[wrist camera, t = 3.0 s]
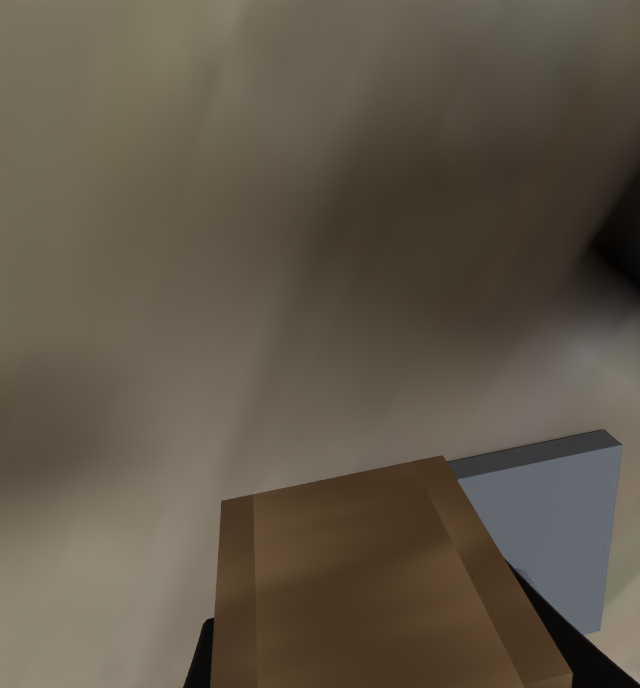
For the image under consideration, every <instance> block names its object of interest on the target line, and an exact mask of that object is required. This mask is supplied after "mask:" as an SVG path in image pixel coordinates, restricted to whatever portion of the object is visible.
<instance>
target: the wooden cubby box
mask: <svg viewBox="0 0 640 688" xmlns="http://www.w3.org/2000/svg"><path fill="white" fill-rule="evenodd" d="M572 676H573V673H572V671H571V669H570V668H569V666H568V664H567V663H566V661H565V659H564V658H563V656H562V654H561V653H560V651H559V649H558V648H557V646H556V644H555V643H554V641H553V639H552V637H551V636H550V634H549V632H548V631H547V629H546V627H545V626H544V624H543V622H542V621H541V619H540V617H539V616H538V614H537V612H536V611H535V609H534V607H533V606H532V604H531V602H530V601H529V599H528V597H527V596H526V594H525V592H524V591H523V589H522V587H521V586H520V584H519V582H518V581H517V579H516V577H515V576H514V574H513V572H512V571H511V569H510V567H509V566H508V564H507V562H506V561H505V559H504V557H503V556H502V554H501V552H500V551H499V549H498V547H497V546H496V544H495V542H494V541H493V539H492V537H491V536H490V534H489V532H488V531H487V529H486V527H485V526H484V524H483V522H482V521H481V519H480V517H479V516H478V514H477V512H476V511H475V509H474V507H473V506H472V504H471V502H470V501H469V499H468V497H467V496H466V494H465V492H464V491H463V489H462V487H461V486H460V484H459V482H458V481H457V479H456V477H455V476H454V474H453V472H452V471H451V469H450V467H449V466H448V464H447V462H446V461H445V459H444V457H443V455H441V456H437V457H432V458H427V459H422V460H417V461H412V462H408V463H403V464H398V465H393V466H388V467H383V468H379V469H374V470H369V471H364V472H359V473H354V474H350V475H345V476H340V477H335V478H330V479H325V480H321V481H316V482H311V483H306V484H301V485H296V486H292V487H287V488H282V489H277V490H272V491H267V492H263V493H258V494H253V495H248V496H243V497H238V498H233V499H229V500H224V501H222V503H221V519H220V535H219V551H218V568H217V584H216V600H215V616H214V633H213V649H212V665H211V682H210V688H571V686H572Z"/></svg>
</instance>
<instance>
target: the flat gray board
mask: <svg viewBox="0 0 640 688" xmlns="http://www.w3.org/2000/svg"><path fill="white" fill-rule="evenodd" d="M621 452H622V444H621V443H620V442H619V441H617V440H616V439H615V438H614V437H613V436H611V435H610V434H609V433H608V432H607V431H606V430H600V431H596V432H591V433H586V434H581V435H576V436H572V437H567V438H562V439H557V440H552V441H548V442H543V443H538V444H533V445H528V446H524V447H519V448H514V449H509V450H504V451H500V452H495V453H490V454H485V455H480V456H476V457H471V458H466V459H461V460H456V461H452V462H447V464H448V466H449V467H450V469H451V471H452V472H453V474H454V476H455V477H456V479H457V481H458V482H459V484H460V486H461V487H462V489H463V491H464V492H465V494H466V496H467V497H468V499H469V501H470V502H471V504H472V506H473V507H474V509H475V511H476V512H477V514H478V516H479V517H480V519H481V521H482V522H483V524H484V526H485V527H486V529H487V531H488V532H489V534H490V536H491V537H492V539H493V541H494V542H495V544H496V546H497V547H498V549H499V551H500V552H501V554H502V556H503V557H504V558H505V559H506V560H507V561H508V562H509V563H510V564H511V565H512V566H513V567H514V569H522V570H525V571H526V572H527V573H528V574H529V575H530V577H531V578H532V580H533V582H534V583H535V585H536V586H537V588H538V589H539V591H540V593H541V594H542V596H543V597H544V599H545V600H546V601H547V602H548V603H549V604H550V605H551V606H552V607H553V608H554V609H555V610H556V611H558V612H559V613H560V614H561V615H562V616H563V617H564V618H565V619H566V620H567V621H568V622H569V623H570V624H571V625H572V626H574V627H575V628H576V629H577V630H578V631H579V632H580V633H581V634H582V635H584V634H588V633H593V632H597V631H600V627H601V618H602V610H603V602H604V593H605V585H606V577H607V568H608V560H609V552H610V543H611V535H612V527H613V518H614V510H615V502H616V494H617V485H618V477H619V469H620V460H621Z"/></svg>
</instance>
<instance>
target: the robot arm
mask: <svg viewBox="0 0 640 688" xmlns="http://www.w3.org/2000/svg"><path fill="white" fill-rule="evenodd" d="M504 559H505V558H504ZM505 561H506V562H507V564H508V566H509V567H510V569H511V571H512V572H513V574H514V576H515V577H516V579H517V581H518V582H519V584H520V586H521V587H522V589H523V591H524V592H525V594H526V596H527V597H528V599H529V601H530V602H531V604H532V606H533V607H534V609H535V611H536V612H537V614H538V616H539V617H540V619H541V621H542V622H543V624H544V626H545V627H546V629H547V631H548V632H549V634H550V636H551V637H552V639H553V641H554V643H555V644H556V646H557V648H558V649H559V651H560V653H561V654H562V656H563V658H564V659H565V661H566V663H567V664H568V666H569V668H570V669H571V671H572V673H573V676H572V686H571V688H640V684H639V683H638V682H636V681H635V680H634V679H633V678H632V677H630V676H629V675H628V674H627V673H626V672H624V671H623V670H622V669H621V668H620V667H618V666H617V665H616V664H615V663H614V662H613V661H611V660H610V659H609V658H608V657H607V656H606V655H605V654H603V653H602V652H601V651H600V650H599V649H598V648H597V647H596V646H594V645H593V644H592V643H591V642H590V641H589V640H588V639H587V638H586V637H585V636H583V635H582V634H581V633H580V632H579V631H578V630H577V629H576V628H575V627H574V626H572V625H571V624H570V623H569V622H568V621H567V620H566V619H565V618H564V617H563V616H562V615H561V614H560V613H559V612H558V611H556V610H555V609H554V608H553V607H552V606H551V605H550V604H549V603H548V602H547V601H546V600H545V599H544V598H543V597H542V596H541V595H540V594H539V593H538V592H537V591H536V590H535V589H534V588H533V587H532V586H531V585H530V584H529V583H528V582H527V581H526V580H525V579H524V578H523V577H522V576H521V575H520V574H519V573H518V572H517V571H516V570H515V569H514V567H513V566H512V565H511V564H510V563H509V562H508V561H507V560H506V559H505ZM213 633H214V618H211V619H207V620H206V621H205V623H204V624H203V626H202V630H201V634H200V637H199V641H198V644H197V647H196V650H195V654H194V657H193V660H192V663H191V666H190V669H189V672H188V675H187V678H186V681H185V684H184V687H183V688H210V682H211V665H212V649H213Z"/></svg>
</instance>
